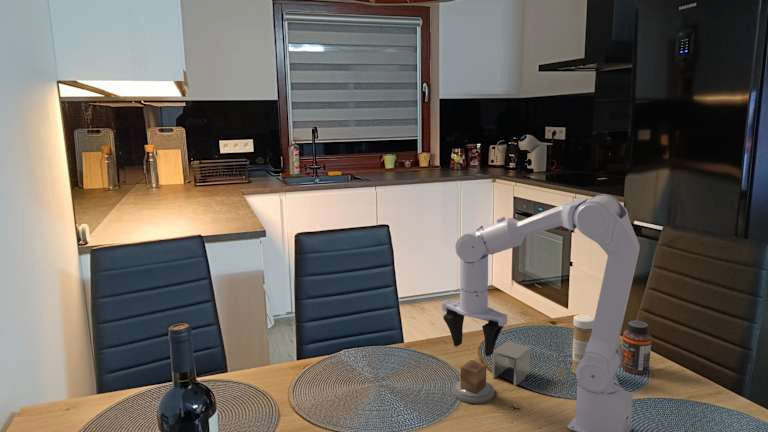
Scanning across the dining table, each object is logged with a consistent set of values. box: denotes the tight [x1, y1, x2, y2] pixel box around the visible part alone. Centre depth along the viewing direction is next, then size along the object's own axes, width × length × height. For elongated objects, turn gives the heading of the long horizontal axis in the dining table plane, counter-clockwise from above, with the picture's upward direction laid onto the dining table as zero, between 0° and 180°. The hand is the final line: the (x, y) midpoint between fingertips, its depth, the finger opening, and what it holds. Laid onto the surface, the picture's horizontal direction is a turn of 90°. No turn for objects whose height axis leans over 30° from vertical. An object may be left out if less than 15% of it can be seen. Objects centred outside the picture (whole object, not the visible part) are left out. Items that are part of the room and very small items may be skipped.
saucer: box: [451, 379, 495, 405], centre depth 116 cm, size 9×9×1 cm
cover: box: [491, 340, 532, 387], centre depth 122 cm, size 6×7×6 cm
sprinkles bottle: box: [571, 314, 595, 376], centre depth 122 cm, size 5×5×14 cm
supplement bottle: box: [620, 320, 652, 375], centre depth 124 cm, size 6×6×11 cm
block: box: [460, 359, 487, 394], centre depth 115 cm, size 4×4×5 cm
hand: (473, 349), depth 114 cm, fingers open, 7 cm apart
